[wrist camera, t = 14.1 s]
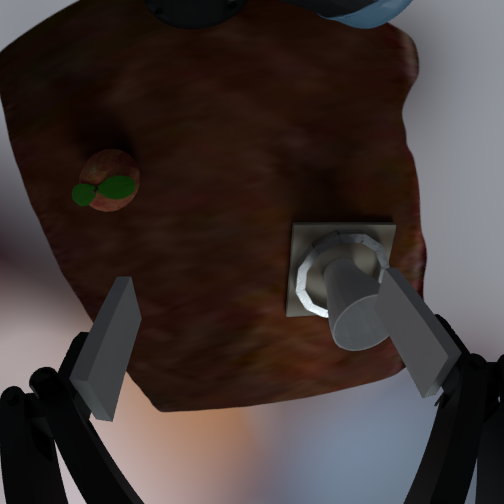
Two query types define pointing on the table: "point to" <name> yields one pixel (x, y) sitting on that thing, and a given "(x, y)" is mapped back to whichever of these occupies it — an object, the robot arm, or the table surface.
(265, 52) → the table surface
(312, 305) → the ring collar
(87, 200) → the fruit
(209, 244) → the table surface
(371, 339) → the cup
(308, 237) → the board
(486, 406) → the robot arm
